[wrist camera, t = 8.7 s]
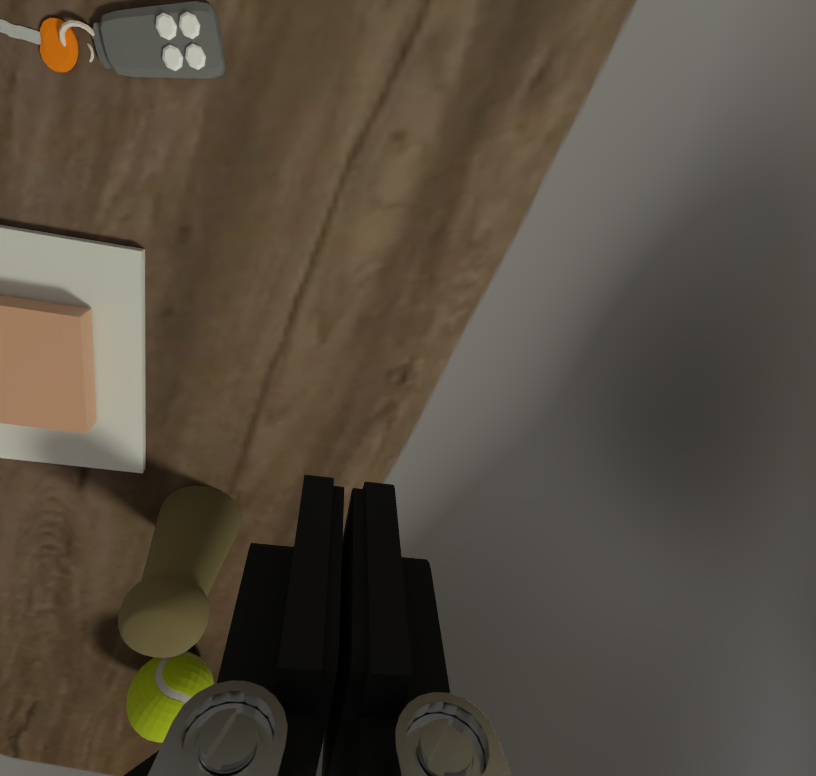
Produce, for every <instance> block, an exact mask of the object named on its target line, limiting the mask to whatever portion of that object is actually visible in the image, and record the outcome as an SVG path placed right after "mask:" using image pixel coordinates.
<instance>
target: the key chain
mask: <svg viewBox="0 0 816 776" xmlns="http://www.w3.org/2000/svg"><path fill="white" fill-rule="evenodd" d="M72 26H76V27H81V28H83V29H85V30H87V31H88V32H89V33H90V34H91V35H92V37H93V39H94V43H95V47H96V51H97V55H98V58H99V61H100V62H101V63H102V65H103V66H104V67H105V68H107V69H110V68H112V69H113V70H114V71H115V72H116V73H117V74H120V75H125V76H130V77H151V78H197V79H212V78H216V77H219V76H223V74H224V71H225V67H226V66H225V59H224V52H223V44H222V38H221V33H220V28H219V23H218V18H217V14H216V12H215V10H214V9H213V7H212V5H210V4H208V3H203V2H197V1H192V2H183V3H174V4H165V5H157V6H149V7H141V8H133V9H125V10H117V11H113V12H110V13H107V14H104V15H103V16H102V19H101V22H100V23H94V25H93V29H91V28H90V27H89V26H88V25H86V24H84V23H82V22H80V21H71V20H69V21H67V22H64V21H62V20H61V19H59V18H49V19H47V20H45V21H44V22H43V23H42V26H41V28H40V32H39V31H36V30H32V29H29V28H26V27H23V26H20V25H18V26H16V25H13V24H10V23H8V22H7V21H4V20H1V19H0V28H1V29H0V32H2V33H5V34H8V36H10V37H13V38H17V39H19V38H20V39H23V40H27V41H30V42H33V43H36V44H39V45H40V53H41V56H42V59H43V61H44V62H45V63H46V64H47V66H48V67H49V68H51V69H53V70H54V71H56V72H67V71H69V70H71V69H72V68H73V67H74V65H75V63H76V62H77V57H78V43H77V39H76V37H75V34H74V32H73V30H72V29H71V28H70V27H72ZM88 47H89V48H90V52H91V57H90V60H89V62H92V61H93V59H94V51H93V48H92V47H91V45H90V44H88Z"/></svg>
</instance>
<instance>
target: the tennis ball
mask: <svg viewBox="0 0 816 776" xmlns="http://www.w3.org/2000/svg"><path fill="white" fill-rule="evenodd" d="M213 684H214V681H213V676H212V673H211V671H210V670H209V668H208V666H207V664H206V663H205V662H204V661H203V660H202V659H201V658H200V657H199V656H197V655H195V654H193V653H191V652H188V651H186V652H184V653H182V654H179V655H177V656H172V657H166V658H159V657H154V658H152V659H151V660H150V661H148V662H147V663H146V664H145V665H144V666H142V667H141V669H140V670H139V671H138V672H137V674H136V675H135V677H134V679H133V681H132V682H131V684H130V687H129V691H128V695H127V702H126V708H127V715H128V718H129V721H130V723H131V725H132V726H133V728H134V729H135V730H136V732H137V733H138V734H140V735H141V736H142V737H144V738H146V739H147V740H151V741H154V742H163V741H164V739H165V737H166V735H167V733H168V730H169V728H170V726H171V724H172V722H173V720H174V719H175V717H176V715H177V714H178V712H179V711H180V709H181V708H182V706H183V705H184V704H185V703H186V702H187V701H188V700H190V699H191V698H192V697H193V696H194V695H195V694H196V693H198V692H199V691H201V690H203V689H205V688H207V687H209V686H211V685H213Z"/></svg>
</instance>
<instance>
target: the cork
mask: <svg viewBox="0 0 816 776" xmlns="http://www.w3.org/2000/svg"><path fill="white" fill-rule="evenodd" d="M241 519H242V516H241V513H240V510H239V507H238V506H237V504H236V503H235V502H234V501H233V499H232V498H231V497H229V496H228V495H226V494H225V493H223V492H222V491H220V490H217V489H214V488H211V487H208V486H197V485H194V486H188V487H182V488H180V489H178V490H176V491H174V492H172V493H171V494H170V495H169V496H168V497H167V498H166V499H164V501H163V503H162V506H161V508H160V511H159V515H158V519H157V523H156V527H155V530H154V534H153V538H152V542H151V546H150V550H149V554H148V557H147V561H146V565H145V569H144V573H143V577H142V581H140V582H139V583H138V584H137V585H135V586H134V587H133V588H132V589H131V590H130V592H129V593H128V594H127V595H126V597H125V599H124V601H123V603H122V606H121V608H120V610H119V614H118V629H119V632H120V635H121V637H122V639H123V641H124V642H125V643H126V644H127V645H128V646H129V647H130V648H131V649H132V650H134V651H136V652H138V653H140V654H143V655H146V656H150V657H159V658H166V657H172V656H177V655H179V654H182V653H184V652H186V651H187V650H188V649H190V648H191V647H192V646H193V645H194V644H196V643H197V642H198V641H199V639H200V638H201V636H202V634H203V632H204V630H205V629H206V627H207V623H208V620H209V601H208V599H207V595H208V593H209V591H210V589H211V587H212V585H213V583H214V581H215V579H216V577H217V574H218V572H219V570H220V568H221V566H222V564H223V562H224V560H225V558H226V556H227V554H228V552H229V550H230V548H231V546H232V544H233V541H234V539H235V537H236V535H237V533H238V531H239V529H240V527H241Z"/></svg>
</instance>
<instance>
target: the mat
mask: <svg viewBox="0 0 816 776" xmlns="http://www.w3.org/2000/svg"><path fill="white" fill-rule="evenodd" d="M0 295H6V296H13V297H20V298H26V299H33V300H40V301H46V302H53V303H60V304H66V305H73V306H79V307H86V308H92V329H93V351H94V372H95V394H96V416H97V421H96V422H95V424H94V425H93V426H92V427H91V429H90V430H89V431H88V432H87V433H80V432H71V431H63V430H54V429H46V428H37V427H29V426H20V425H12V424H4V423H0V458H7V459H16V460H25V461H34V462H43V463H52V464H62V465H71V466H80V467H89V468H98V469H107V470H116V471H125V472H135V473H143V472H144V470H145V469H146V439H145V249H142V248H136V247H130V246H124V245H118V244H112V243H106V242H100V241H94V240H88V239H82V238H76V237H70V236H65V235H59V234H53V233H47V232H41V231H35V230H29V229H23V228H17V227H11V226H5V225H0Z"/></svg>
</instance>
